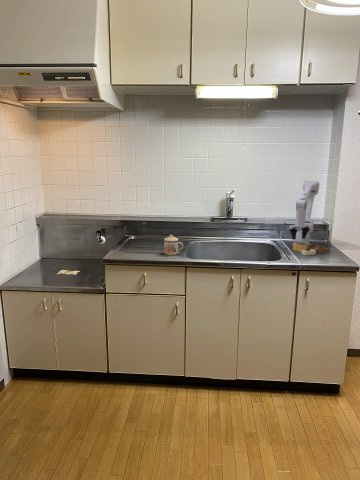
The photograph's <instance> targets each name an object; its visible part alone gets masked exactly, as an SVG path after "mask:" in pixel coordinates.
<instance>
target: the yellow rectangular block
mask: <svg viewBox="0 0 360 480" xmlns="http://www.w3.org/2000/svg"><path fill="white" fill-rule="evenodd" d="M292 250H293V251H296V252H298V253H301V250H305V251H307V244H305V243H302V242H300V241H296V242H295V241H293V244H292Z"/></svg>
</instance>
